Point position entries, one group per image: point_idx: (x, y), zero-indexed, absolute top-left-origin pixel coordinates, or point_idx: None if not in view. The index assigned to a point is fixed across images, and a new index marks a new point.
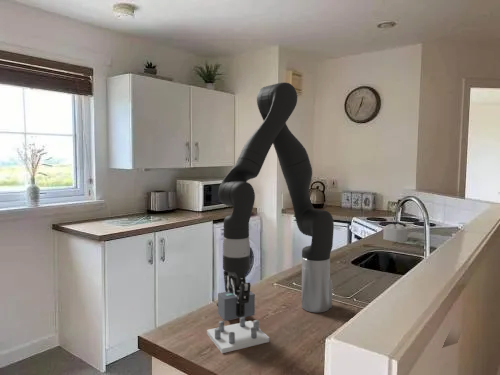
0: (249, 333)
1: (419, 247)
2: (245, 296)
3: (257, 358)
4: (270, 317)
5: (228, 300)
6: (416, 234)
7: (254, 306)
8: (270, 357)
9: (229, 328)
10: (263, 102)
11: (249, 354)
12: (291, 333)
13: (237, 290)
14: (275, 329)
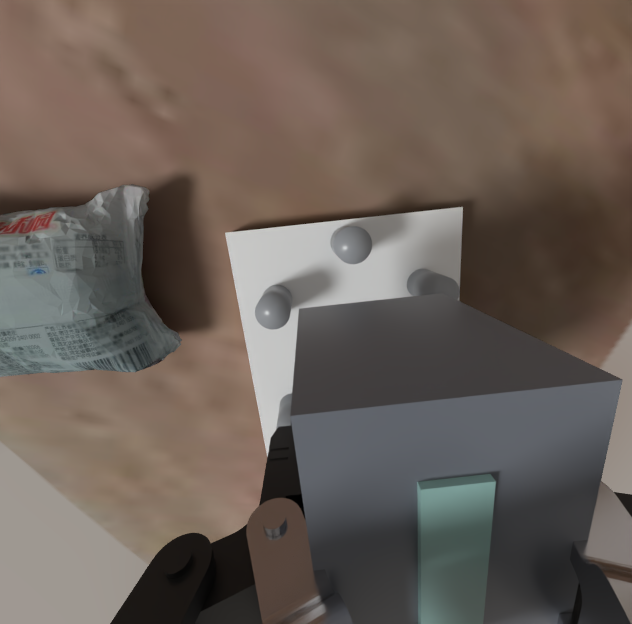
0: (375, 292)
1: None
2: (581, 510)
3: (548, 313)
4: (162, 64)
5: None
6: None
7: (486, 315)
8: (573, 258)
9: (286, 367)
10: None
11: None
12: (422, 27)
13: (326, 565)
14: (336, 110)
